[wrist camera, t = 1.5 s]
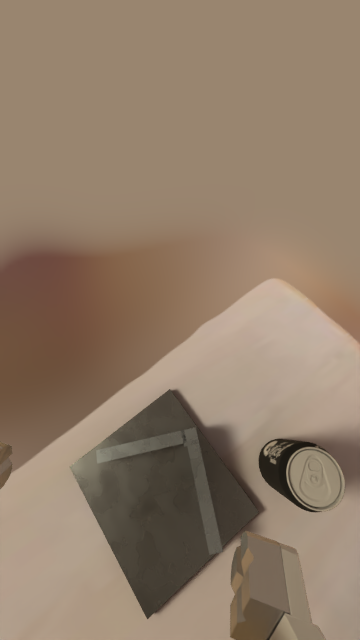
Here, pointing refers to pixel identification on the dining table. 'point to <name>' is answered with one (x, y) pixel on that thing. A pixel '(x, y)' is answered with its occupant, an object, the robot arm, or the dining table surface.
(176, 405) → the v block
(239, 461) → the dining table surface
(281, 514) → the dining table surface
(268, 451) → the beverage can
